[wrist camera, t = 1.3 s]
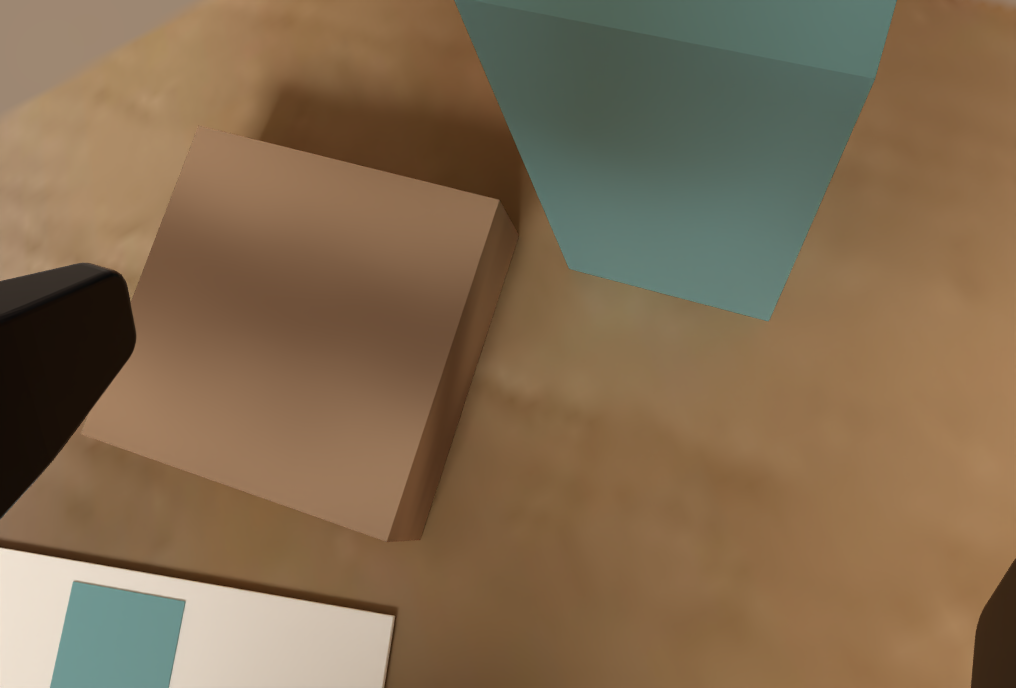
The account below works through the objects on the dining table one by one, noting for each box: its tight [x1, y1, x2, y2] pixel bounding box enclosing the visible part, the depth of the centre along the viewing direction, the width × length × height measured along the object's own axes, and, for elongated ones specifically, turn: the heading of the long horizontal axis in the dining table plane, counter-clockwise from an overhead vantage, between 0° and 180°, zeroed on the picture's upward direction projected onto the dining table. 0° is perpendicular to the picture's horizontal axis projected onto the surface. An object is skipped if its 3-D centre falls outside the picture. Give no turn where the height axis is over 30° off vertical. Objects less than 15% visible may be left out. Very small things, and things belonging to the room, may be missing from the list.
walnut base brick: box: [81, 126, 519, 542], centre depth 22 cm, size 8×8×3 cm
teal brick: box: [454, 0, 897, 321], centre depth 16 cm, size 5×5×12 cm
